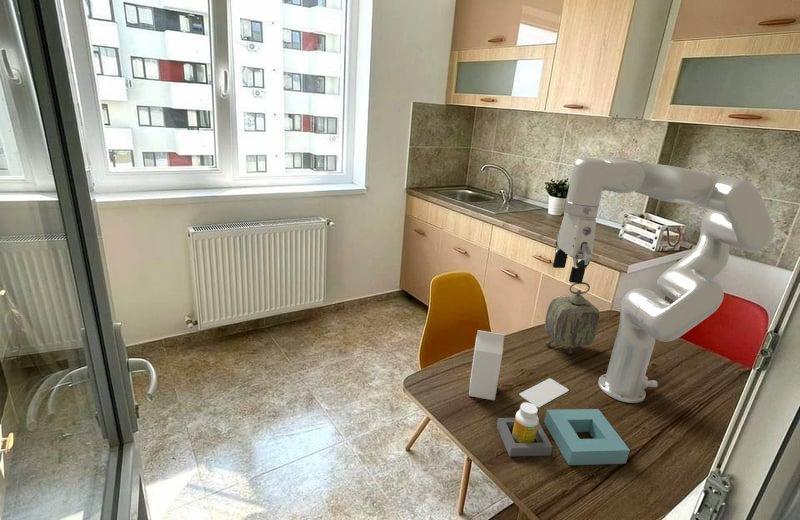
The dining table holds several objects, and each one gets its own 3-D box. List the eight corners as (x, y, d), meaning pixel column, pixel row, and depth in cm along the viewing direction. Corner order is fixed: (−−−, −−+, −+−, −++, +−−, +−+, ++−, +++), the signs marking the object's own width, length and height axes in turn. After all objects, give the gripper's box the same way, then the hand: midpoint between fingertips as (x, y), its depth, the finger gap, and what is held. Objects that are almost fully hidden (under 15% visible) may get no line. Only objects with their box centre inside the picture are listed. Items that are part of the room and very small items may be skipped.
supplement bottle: (523, 451, 103) (530, 418, 100) (506, 437, 107) (512, 404, 104) (538, 443, 106) (545, 410, 102) (521, 429, 110) (528, 397, 107)
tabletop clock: (579, 342, 152) (594, 277, 143) (593, 357, 144) (610, 288, 135) (540, 343, 150) (553, 276, 141) (552, 358, 142) (567, 288, 133)
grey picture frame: (534, 425, 112) (536, 417, 111) (550, 455, 102) (552, 447, 101) (496, 425, 111) (498, 417, 110) (509, 456, 101) (511, 448, 100)
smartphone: (517, 394, 123) (550, 377, 131) (517, 395, 123) (549, 379, 132) (537, 408, 118) (570, 390, 126) (537, 410, 118) (569, 391, 126)
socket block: (595, 421, 114) (598, 409, 113) (625, 463, 101) (630, 450, 100) (544, 422, 113) (546, 409, 111) (568, 465, 100) (572, 451, 98)
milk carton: (494, 401, 120) (504, 341, 113) (468, 396, 121) (477, 336, 114) (494, 385, 126) (504, 328, 120) (470, 381, 127) (478, 324, 121)
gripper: (614, 220, 98) (597, 289, 104) (579, 202, 115) (565, 263, 121) (583, 218, 98) (567, 288, 104) (551, 201, 114) (539, 262, 120)
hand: (566, 274), depth 112 cm, fingers open, 9 cm apart
